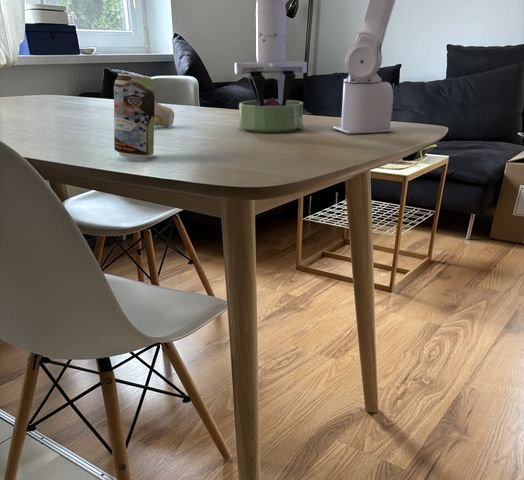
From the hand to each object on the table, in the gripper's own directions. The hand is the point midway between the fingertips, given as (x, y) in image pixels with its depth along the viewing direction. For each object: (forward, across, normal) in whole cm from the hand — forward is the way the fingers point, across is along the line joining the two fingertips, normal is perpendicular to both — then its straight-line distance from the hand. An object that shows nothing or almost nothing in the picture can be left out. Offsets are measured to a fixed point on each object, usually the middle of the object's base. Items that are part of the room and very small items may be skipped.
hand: (271, 112), depth 106 cm
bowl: (+3, 0, 0) cm, 3 cm away
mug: (+3, -24, +11) cm, 27 cm away
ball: (-1, 0, 0) cm, 1 cm away
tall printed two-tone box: (+3, -29, -24) cm, 38 cm away
